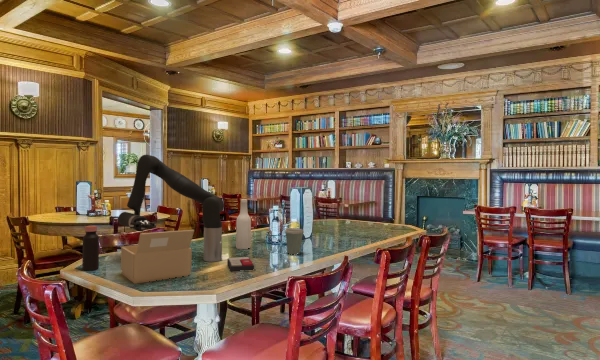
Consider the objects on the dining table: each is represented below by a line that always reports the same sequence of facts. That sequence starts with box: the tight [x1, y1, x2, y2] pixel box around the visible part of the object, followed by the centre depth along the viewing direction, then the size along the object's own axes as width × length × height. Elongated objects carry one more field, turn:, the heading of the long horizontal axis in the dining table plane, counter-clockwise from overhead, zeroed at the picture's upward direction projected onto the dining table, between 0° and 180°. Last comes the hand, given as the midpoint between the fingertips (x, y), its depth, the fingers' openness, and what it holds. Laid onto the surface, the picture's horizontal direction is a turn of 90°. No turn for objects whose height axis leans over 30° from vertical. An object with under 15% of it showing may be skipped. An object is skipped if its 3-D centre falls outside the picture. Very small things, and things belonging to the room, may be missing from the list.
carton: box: [120, 244, 193, 285], centre depth 180 cm, size 25×20×12 cm
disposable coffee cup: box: [284, 227, 304, 255], centre depth 231 cm, size 11×11×15 cm
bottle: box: [81, 225, 100, 272], centre depth 188 cm, size 7×7×20 cm
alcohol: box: [235, 198, 252, 250], centre depth 246 cm, size 9×9×30 cm
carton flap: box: [137, 229, 195, 253], centre depth 170 cm, size 22×10×1 cm
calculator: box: [226, 256, 255, 271], centre depth 196 cm, size 11×4×15 cm
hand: (149, 227), depth 189 cm, fingers closed
